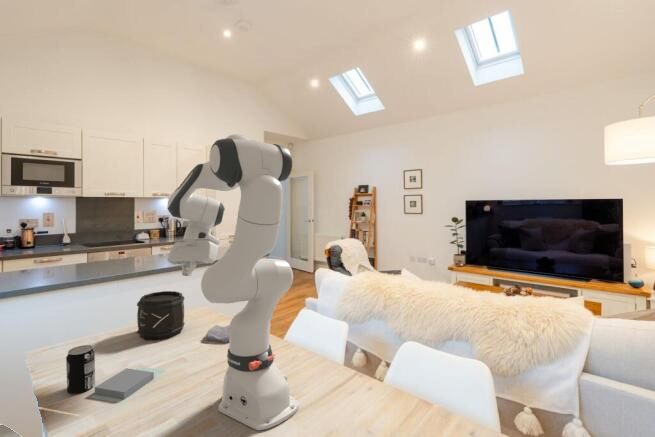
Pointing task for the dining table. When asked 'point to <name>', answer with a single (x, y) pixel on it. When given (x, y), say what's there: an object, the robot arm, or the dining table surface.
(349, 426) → the dining table surface
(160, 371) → the mat
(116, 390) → the slate tile
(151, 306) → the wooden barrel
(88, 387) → the beverage can
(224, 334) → the stone block
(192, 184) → the robot arm
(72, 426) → the dining table surface
